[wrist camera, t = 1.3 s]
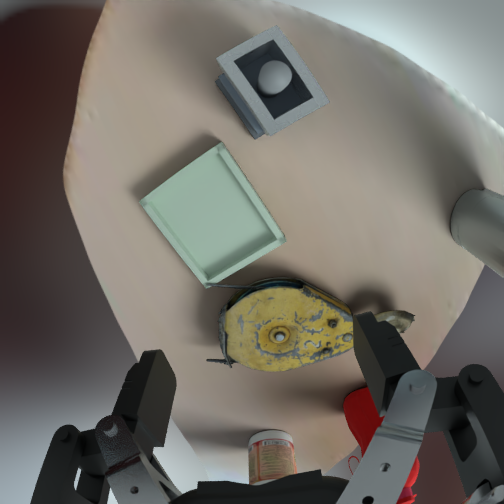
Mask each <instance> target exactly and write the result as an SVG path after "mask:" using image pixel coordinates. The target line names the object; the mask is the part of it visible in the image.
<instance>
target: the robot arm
mask: <svg viewBox="0 0 504 504" xmlns="http://www.w3.org/2000/svg"><path fill="white" fill-rule="evenodd" d="M451 233H452V236H453V239H454V240H455V242H456V243H457V244H459V245H460V246H461V247H462V248H464V249H465V250H467V251H468V252H470V253H471V254H472V255H474V256H475V257H476V258H478V259H479V260H480V261H482V262H483V263H484V264H486V265H487V266H489V267H490V268H491V269H492V270H494V271H495V272H496V273H498V274H499V275H500V276H501V277H503V278H504V196H503V195H501V194H498V193H496V192H493V191H491V190H488V189H486V188H485V189H484V190H482V191H481V190H477V189H474V190H470V191H467V192H466V193H464V194H463V195H462V196H461V197H460V198H459V200H458V201H457V203H456V205H455V207H454V209H453V213H452V217H451ZM353 346H354V352H355V356H356V359H357V361H358V363H359V366H360V368H361V371H362V373H363V376H364V378H365V381H366V383H367V386H368V388H369V391H370V393H371V396H372V399H373V401H374V404H375V406H376V409H377V412H378V414H379V417H382V416H385V417H384V419H383V422H382V424H381V426H379V427H378V428H377V430H376V432H375V434H374V436H373V438H372V440H371V442H370V444H369V446H368V448H367V450H366V452H365V454H364V456H363V458H362V460H361V461H360V463H359V465H358V467H357V469H356V471H355V473H354V474H353V476H352V478H351V480H350V481H349V480H346V479H342V478H338V477H332V476H322V474H321V469H320V470H314V471H309V472H304V473H298V474H291V475H288V476H285V477H282V478H279V479H276V480H273V481H271V482H268V483H264V484H261V485H250V484H243V483H236V482H230V481H202V482H201V481H199V482H198V486H197V489H194V490H191V491H188V492H186V493H184V494H182V493H181V492H180V491H179V490H178V489H177V488H176V486H175V485H174V484H173V482H172V481H171V479H170V478H169V477H168V475H167V474H166V472H165V471H164V469H163V467H162V466H161V465H160V463H159V461H158V460H157V458H156V456H155V455H154V454H153V448H154V447H164V443H165V438H166V433H167V428H168V423H169V419H170V414H171V409H172V404H173V400H174V395H175V391H176V377H175V374H174V372H173V370H172V368H171V366H170V364H169V362H168V361H167V359H166V357H165V355H164V353H163V351H162V350H160V349H159V350H149V351H144V352H143V353H142V356H141V358H140V361H139V363H135V364H134V365H133V366H132V368H131V369H130V370H129V371H128V373H127V376H126V378H125V382H124V384H123V386H122V390H121V391H120V394H119V396H118V399H117V402H116V404H115V407H114V410H113V412H112V415H109V416H106V417H104V418H102V419H101V420H100V421H99V422H98V423H97V425H96V427H95V429H91V430H87V431H82V432H80V431H79V430H78V429H77V428H76V427H75V426H73V425H64V426H62V427H60V428H59V429H58V430H57V431H56V432H55V434H54V436H53V438H52V441H51V443H50V446H49V449H48V451H47V454H46V457H45V460H44V463H43V466H42V468H41V471H40V474H39V477H38V480H37V483H36V487H35V490H34V493H33V496H32V500H31V503H30V504H107V501H108V495H109V491H110V487H111V489H112V492H113V494H114V496H115V498H116V500H117V502H118V504H396V502H397V500H398V498H399V496H400V494H401V492H402V489H403V487H404V485H405V483H406V480H407V478H408V476H409V473H410V471H411V469H412V466H413V464H414V461H415V458H416V456H417V453H418V450H419V448H420V445H421V442H422V438H423V433H427V432H438V431H443V433H444V435H445V438H446V440H447V443H448V445H449V448H450V451H451V453H452V456H453V459H454V461H455V464H456V467H457V470H458V472H459V476H460V478H461V481H462V484H463V487H464V491H465V494H466V497H467V499H465V500H464V501H463V502H462V504H504V393H503V391H502V390H501V388H500V387H499V385H498V383H497V382H496V380H495V378H494V377H493V375H492V374H491V372H490V371H489V370H488V369H487V368H486V367H484V366H482V365H478V364H471V365H468V366H466V367H464V368H463V369H462V370H461V371H460V373H459V376H455V377H446V378H436V377H434V376H433V375H432V374H431V373H429V372H428V371H425V370H421V368H420V367H419V365H418V363H417V362H416V360H415V358H414V357H413V355H412V353H411V352H410V350H409V348H408V347H407V345H406V344H405V343H404V340H403V339H402V337H400V334H399V332H398V331H397V329H396V328H395V326H393V325H392V324H390V323H389V322H387V321H386V320H384V321H380V322H378V321H377V320H376V318H375V316H374V315H373V313H372V312H371V311H370V312H366V313H362V314H358V315H354V316H353ZM78 468H80V469H81V474H80V477H79V481H78V485H77V489H76V490H75V488H74V481H75V477H76V474H77V470H78Z"/></svg>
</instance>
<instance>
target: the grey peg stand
mask: <svg viewBox="0 0 504 504" xmlns="http://www.w3.org/2000/svg"><path fill="white" fill-rule="evenodd" d="M239 70H240V71H241V72H242V74H243V75H244V76H245V78H246V79H247V81H248V82H249V83H250V85H251V86H252V88H253V89H254V91H255V92H256V93H257V95H258V96H259V98H260V99H261V101H262V102H263V104H264V105H265V107H266V108H267V110H268V111H269V113H270V114H271V116H272V117H273V119H274V118H276V117H277V116H279V115H281V114H282V113H284V112H286V111H288V110H289V109H291V108H293V107H295V106H296V105H298V104H300V103H302V101H301V99H300V98H299V96H298V95H297V93H296V92H295V90H294V89H293V87H292V86H291V84H290V81H291V78H292V73H291V70H290V68H289V67H288V66H287V65H286V64H285V63H283V62H281V61H274V60H273V58H272V57H271V56H270V54H269V53H268V54H266V55H264V56H262V57H260V58H259V59H257V60H255V61H253V62H251V63H250V64H248V65H246V66H244V67H243V68H241V69H239ZM218 77H219V79H218V80H216V81H215V83H216V84H217V85H218V87H219V88H220V90H221V91H222V92H223V94H224V95H225V97H226V98H227V100H228V101H229V102H230V104H231V105H232V107H233V108H234V110H235V111H236V112H237V114H238V115H239V117H240V118H241V120H242V121H243V123H244V124H245V126H246V127H247V128H248V130H249V131H250V133H251V134H252V136H253V137H254V139H257V138H259V137H260V136H262V135H263V134H265V133H264V131H263V130H262V128H261V127H260V125H259V124H258V122H257V121H256V119H255V118H254V116H253V115H252V113H251V112H250V110H249V109H248V107H247V106H246V105H245V103H244V102H243V100H242V99H241V97H240V96H239V94H238V93H237V92H236V90H235V89H234V87H233V86H232V85H231V83H230V82H229V80H228V79H227V78H226V76H225V75H224V74H222V75H220V76H218Z"/></svg>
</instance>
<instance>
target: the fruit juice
mask: <svg viewBox="0 0 504 504" xmlns="http://www.w3.org/2000/svg"><path fill="white" fill-rule="evenodd" d="M248 453H249V484H250V485H261V484H264V483H268V482H271V481H273V480H276V479H279V478H282V477H285V476H288V475H291V474H297V469H296V461H295V454H294V446H293V440H292V438H291V436H290V435H289V434H288V433H286V432H283V431H278V430H268V431H263V432H259V433H257V434H255V435H253V436H252V437H251V438H250V440H249V444H248Z"/></svg>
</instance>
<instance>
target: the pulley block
mask: <svg viewBox="0 0 504 504" xmlns="http://www.w3.org/2000/svg"><path fill="white" fill-rule="evenodd" d="M207 286H217V287H230V288H235V289H241V290H239V291H238V292H237V293H236V294H235V295H234V296H232V297H231V298H230V300H229V301H228V303H227V304H226V305H225V306H224V307H223V309H221V312H219V314H220V313H221V316H220V317H219V320H218V322H219V340H220V347H221V349H222V353H223V355H224V357H225V359H207V360H206V361H209V362H216V363H217V362H219V363H224V364H227V365H229V367H230V368H232V366H231V364H233V363H240V364H242V365H244V366H246V367H249V368H252V369H256V370H261V371H271V372H275V371H287V370H291V369H295V368H298V367H302V366H305V365H309V364H312V363H316V362H319V361H323V360H326V359H329V358H332V357H335V356H338V355H341V354H343V353H345V352H347V351H349V350H350V349H351V348H353V347H354V346H353V314H352V312H351V310H350V309H349V308H348V306H347V305H346V304H345V303H343V302H342V301H340V300H338V299H336V298H335V297H333V296H331V295H329V294H327V293H325V292H323V291H321V290H320V289H318V288H316V287H314V286H312V285H310V284H308V283H306V282H305V281H303V280H301V279H295V278H270V279H265V280H261V281H258V282H255V283H252V284H250V285H248V286H237V285H218V284H208V285H207ZM374 316H375V318H376V320H377V321H378V322H380V321H384V320H386V321H387V322H389V323H390V324H392V325H393V326H395V328H396V329H397V331H398V332H399V334H401V333H405V332H404V331H405V330H407V329H408V328H409V327H410V325H411V323H412V321H415V320H414V316H415V315H413V314H411V313H408V312H406V311H386V312H382V313H379V314H376V315H374Z"/></svg>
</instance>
